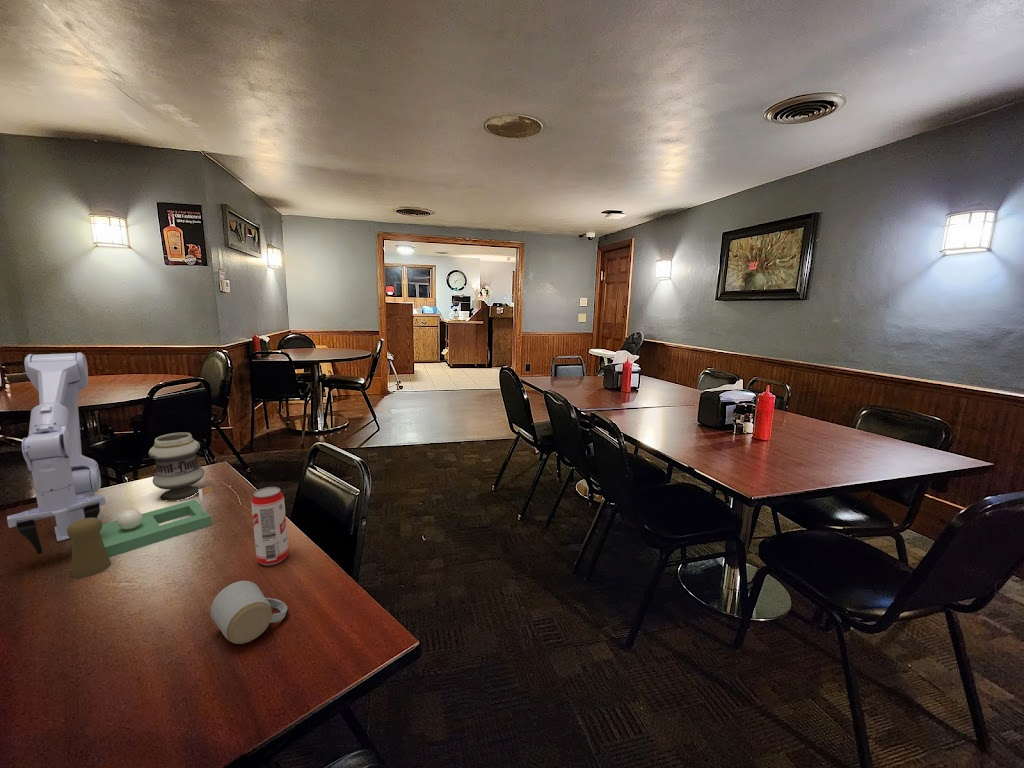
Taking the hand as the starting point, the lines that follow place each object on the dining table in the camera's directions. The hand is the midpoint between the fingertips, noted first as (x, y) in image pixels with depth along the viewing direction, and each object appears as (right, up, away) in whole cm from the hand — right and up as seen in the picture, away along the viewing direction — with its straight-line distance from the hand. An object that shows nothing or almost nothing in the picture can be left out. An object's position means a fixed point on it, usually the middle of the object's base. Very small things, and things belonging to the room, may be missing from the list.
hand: (65, 544), depth 95 cm
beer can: (+45, -4, +1) cm, 45 cm away
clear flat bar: (+20, +2, +16) cm, 26 cm away
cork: (+9, -4, -3) cm, 11 cm away
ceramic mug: (+53, -8, -19) cm, 57 cm away
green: (+9, -1, +12) cm, 15 cm away
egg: (+7, +3, +8) cm, 11 cm away
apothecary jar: (0, +3, +33) cm, 33 cm away
